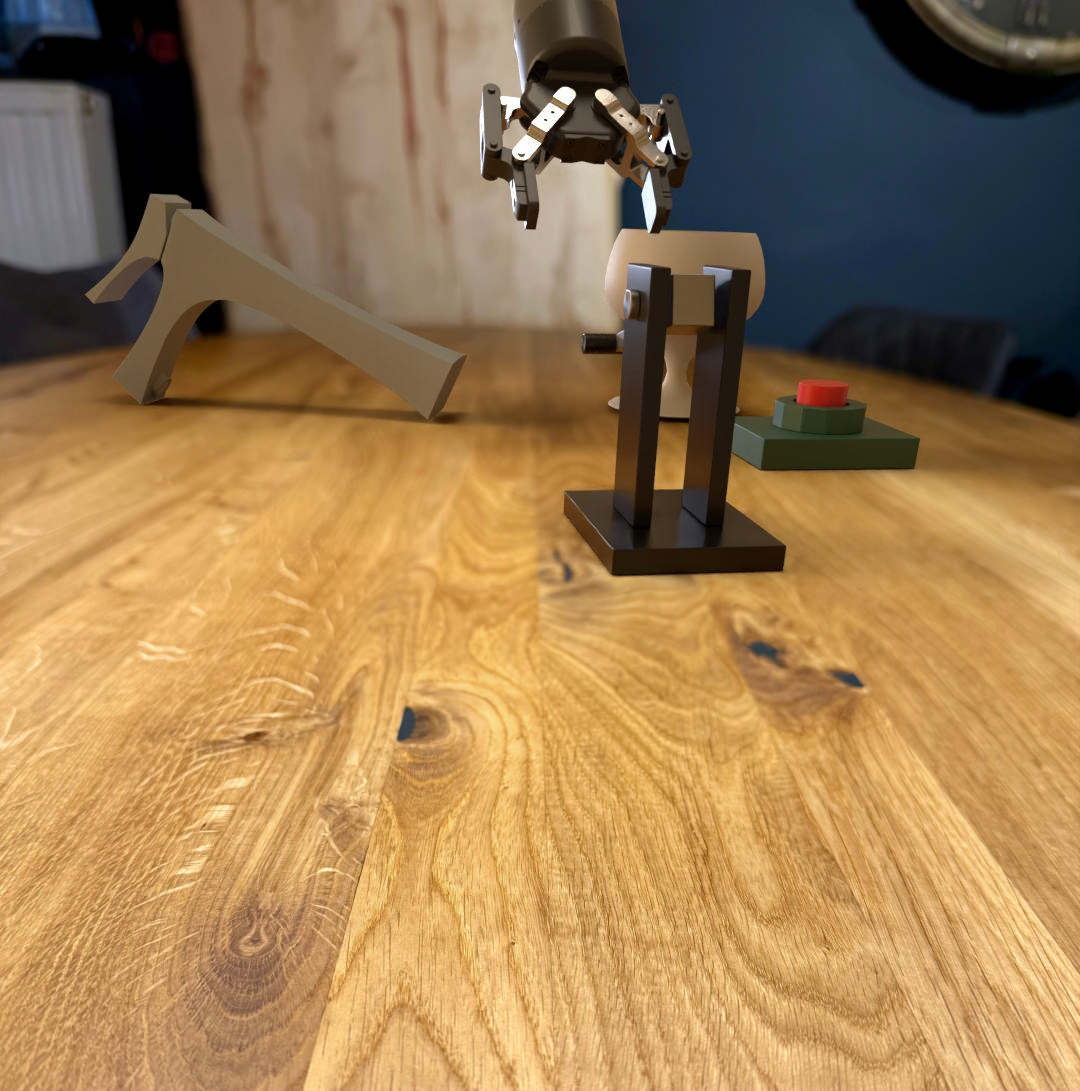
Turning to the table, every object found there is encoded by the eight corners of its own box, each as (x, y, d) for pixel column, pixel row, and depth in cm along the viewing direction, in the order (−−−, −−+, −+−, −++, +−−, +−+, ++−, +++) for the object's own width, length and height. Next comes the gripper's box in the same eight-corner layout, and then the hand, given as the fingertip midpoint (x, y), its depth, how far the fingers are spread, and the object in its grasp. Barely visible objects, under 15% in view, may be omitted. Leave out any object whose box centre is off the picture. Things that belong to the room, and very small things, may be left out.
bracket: (563, 512, 61) (573, 258, 55) (707, 509, 63) (733, 262, 57) (611, 575, 51) (631, 270, 45) (783, 570, 52) (824, 275, 46)
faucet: (393, 517, 96) (98, 357, 94) (469, 352, 89) (151, 172, 86) (374, 536, 91) (61, 365, 88) (454, 361, 83) (114, 169, 81)
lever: (581, 365, 64) (580, 324, 63) (659, 366, 64) (659, 325, 64) (644, 324, 50) (644, 272, 50) (742, 326, 51) (743, 274, 50)
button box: (859, 443, 84) (868, 392, 82) (915, 468, 76) (925, 412, 74) (718, 444, 81) (724, 392, 80) (760, 470, 74) (767, 412, 72)
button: (832, 403, 79) (836, 379, 78) (853, 411, 76) (857, 386, 75) (788, 403, 78) (791, 379, 77) (807, 411, 75) (811, 386, 74)
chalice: (571, 401, 98) (579, 226, 92) (696, 396, 104) (711, 231, 97) (645, 427, 87) (660, 230, 80) (781, 420, 92) (805, 235, 86)
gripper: (473, -18, 69) (495, 171, 64) (678, -3, 71) (715, 180, 66) (464, 84, 76) (484, 261, 71) (651, 94, 78) (683, 266, 73)
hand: (596, 222), depth 68 cm, fingers open, 8 cm apart
